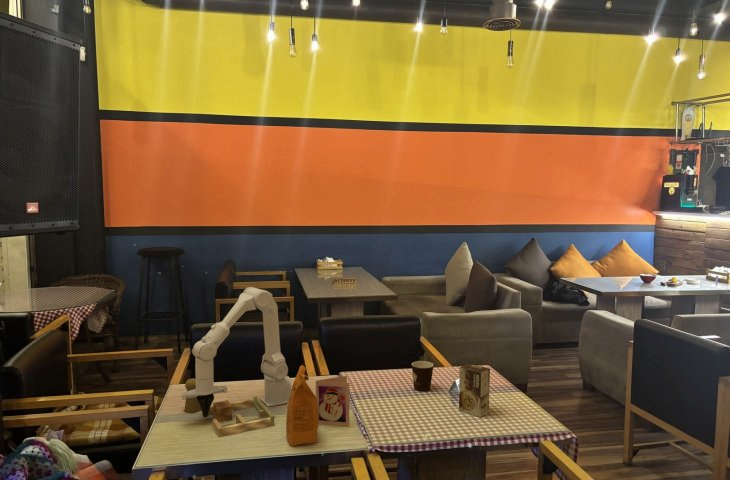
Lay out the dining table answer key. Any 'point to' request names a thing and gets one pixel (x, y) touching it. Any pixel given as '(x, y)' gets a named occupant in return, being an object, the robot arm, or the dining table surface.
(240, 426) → the trap lane
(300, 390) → the coffee package
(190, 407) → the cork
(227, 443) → the dining table surface
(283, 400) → the robot arm
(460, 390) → the coffee box
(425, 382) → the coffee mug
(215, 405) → the walnut block
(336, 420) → the greeting card
